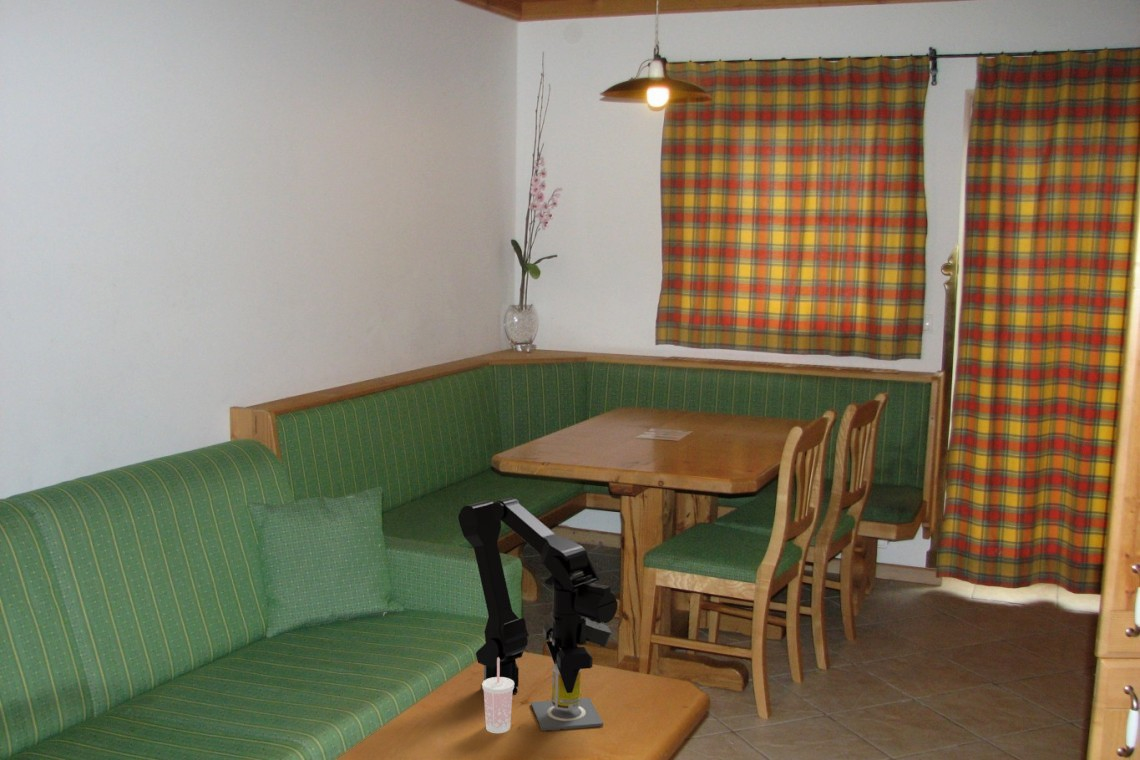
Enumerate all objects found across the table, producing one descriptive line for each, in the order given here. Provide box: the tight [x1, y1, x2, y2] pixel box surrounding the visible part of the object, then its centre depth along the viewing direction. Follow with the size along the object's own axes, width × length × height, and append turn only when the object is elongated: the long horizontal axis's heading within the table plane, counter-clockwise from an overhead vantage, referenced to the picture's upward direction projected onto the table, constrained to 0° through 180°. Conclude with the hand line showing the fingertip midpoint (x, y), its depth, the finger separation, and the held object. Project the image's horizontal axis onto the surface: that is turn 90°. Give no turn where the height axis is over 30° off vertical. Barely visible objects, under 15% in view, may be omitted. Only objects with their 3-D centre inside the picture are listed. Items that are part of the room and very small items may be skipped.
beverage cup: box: [481, 658, 514, 734], centre depth 210 cm, size 6×6×14 cm
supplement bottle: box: [551, 664, 582, 711], centre depth 216 cm, size 6×6×10 cm
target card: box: [530, 697, 604, 732], centre depth 217 cm, size 12×12×1 cm
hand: (566, 686), depth 216 cm, fingers closed on supplement bottle, 5 cm apart
